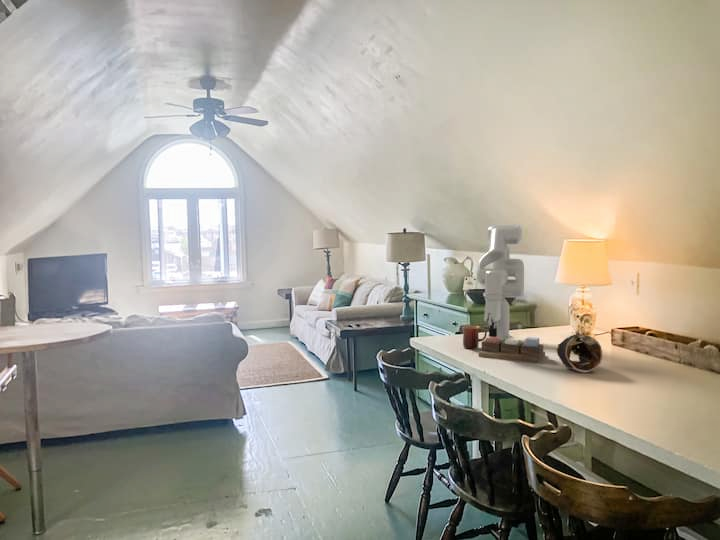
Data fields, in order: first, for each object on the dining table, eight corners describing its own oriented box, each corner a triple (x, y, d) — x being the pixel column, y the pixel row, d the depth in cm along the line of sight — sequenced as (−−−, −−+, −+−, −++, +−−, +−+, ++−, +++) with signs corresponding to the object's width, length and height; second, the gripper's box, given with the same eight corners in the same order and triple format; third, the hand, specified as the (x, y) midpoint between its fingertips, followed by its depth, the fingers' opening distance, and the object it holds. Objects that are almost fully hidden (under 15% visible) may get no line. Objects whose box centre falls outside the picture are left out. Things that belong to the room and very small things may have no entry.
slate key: (527, 345, 250) (528, 337, 249) (539, 347, 247) (539, 338, 247) (525, 347, 245) (525, 338, 245) (536, 349, 243) (536, 340, 242)
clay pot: (580, 332, 246) (600, 331, 221) (586, 366, 244) (607, 370, 219) (546, 336, 246) (562, 336, 222) (552, 370, 244) (569, 374, 220)
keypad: (489, 349, 265) (489, 337, 264) (545, 355, 251) (545, 342, 251) (478, 356, 251) (478, 343, 250) (537, 363, 238) (537, 349, 237)
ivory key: (508, 346, 254) (508, 338, 254) (519, 347, 252) (519, 339, 251) (505, 348, 250) (505, 340, 250) (516, 349, 247) (516, 341, 247)
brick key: (489, 344, 259) (489, 336, 259) (499, 345, 256) (499, 337, 256) (485, 346, 255) (485, 338, 254) (496, 347, 252) (496, 339, 252)
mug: (462, 349, 266) (462, 328, 265) (460, 345, 274) (461, 325, 274) (487, 350, 265) (487, 328, 264) (485, 346, 273) (485, 325, 273)
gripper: (490, 294, 262) (489, 332, 264) (480, 298, 249) (479, 338, 251) (505, 295, 258) (505, 334, 260) (496, 299, 246) (496, 340, 247)
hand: (492, 336), depth 255 cm, fingers closed
